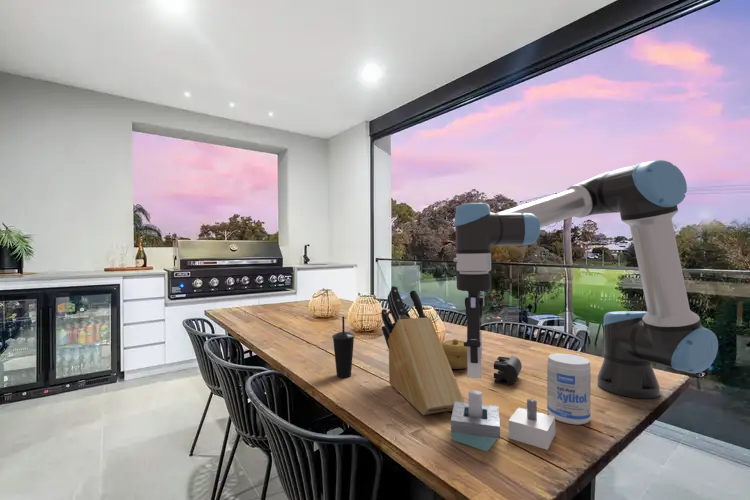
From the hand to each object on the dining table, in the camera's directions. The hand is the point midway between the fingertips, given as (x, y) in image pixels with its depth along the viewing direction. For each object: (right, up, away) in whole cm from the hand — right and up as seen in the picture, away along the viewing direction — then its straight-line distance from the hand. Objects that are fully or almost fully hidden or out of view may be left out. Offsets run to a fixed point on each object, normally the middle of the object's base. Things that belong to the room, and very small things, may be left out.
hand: (475, 367), depth 80 cm
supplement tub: (+26, -16, +9) cm, 32 cm away
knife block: (-10, -16, +26) cm, 32 cm away
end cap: (+20, -16, +35) cm, 43 cm away
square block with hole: (0, -13, 0) cm, 13 cm away
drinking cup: (-33, -17, +40) cm, 55 cm away
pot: (+7, -16, +48) cm, 51 cm away
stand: (+13, -16, 0) cm, 20 cm away
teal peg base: (0, -16, 0) cm, 16 cm away
